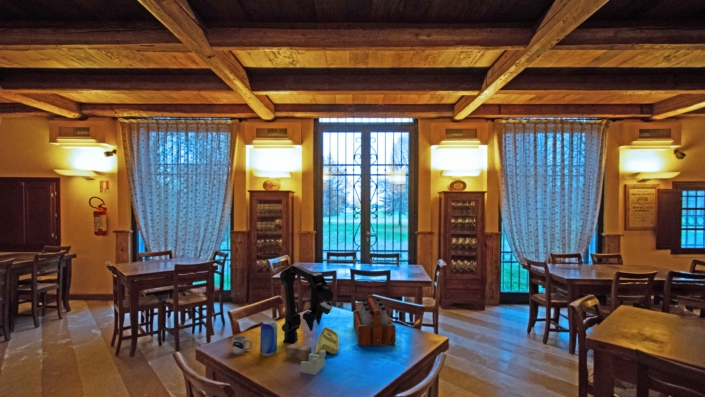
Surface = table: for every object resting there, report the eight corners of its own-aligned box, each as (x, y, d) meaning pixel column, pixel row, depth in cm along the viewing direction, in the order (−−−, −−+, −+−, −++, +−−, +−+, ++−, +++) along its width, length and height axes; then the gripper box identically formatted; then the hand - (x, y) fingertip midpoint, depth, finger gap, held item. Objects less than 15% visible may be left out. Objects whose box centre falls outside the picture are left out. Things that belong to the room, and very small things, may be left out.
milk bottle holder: (358, 348, 172) (358, 312, 173) (352, 324, 207) (353, 294, 207) (397, 347, 174) (397, 311, 174) (384, 324, 209) (385, 294, 209)
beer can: (280, 350, 168) (280, 319, 168) (270, 357, 160) (271, 325, 160) (266, 348, 171) (266, 317, 171) (256, 355, 163) (257, 323, 163)
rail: (286, 357, 161) (286, 347, 161) (290, 353, 164) (290, 343, 165) (307, 361, 157) (307, 350, 157) (311, 357, 161) (311, 347, 161)
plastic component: (338, 350, 164) (321, 342, 163) (332, 363, 164) (315, 355, 163) (338, 332, 184) (322, 325, 183) (332, 344, 184) (317, 336, 183)
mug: (230, 354, 163) (230, 341, 164) (234, 348, 170) (234, 335, 170) (250, 353, 164) (250, 340, 164) (253, 348, 171) (253, 335, 171)
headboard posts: (300, 372, 146) (300, 357, 146) (310, 362, 155) (310, 347, 156) (316, 375, 143) (316, 360, 143) (325, 365, 153) (325, 350, 153)
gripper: (323, 304, 155) (322, 336, 155) (336, 294, 173) (335, 323, 173) (302, 301, 159) (301, 333, 158) (317, 292, 176) (316, 320, 176)
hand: (314, 327), depth 166 cm, fingers open, 9 cm apart
